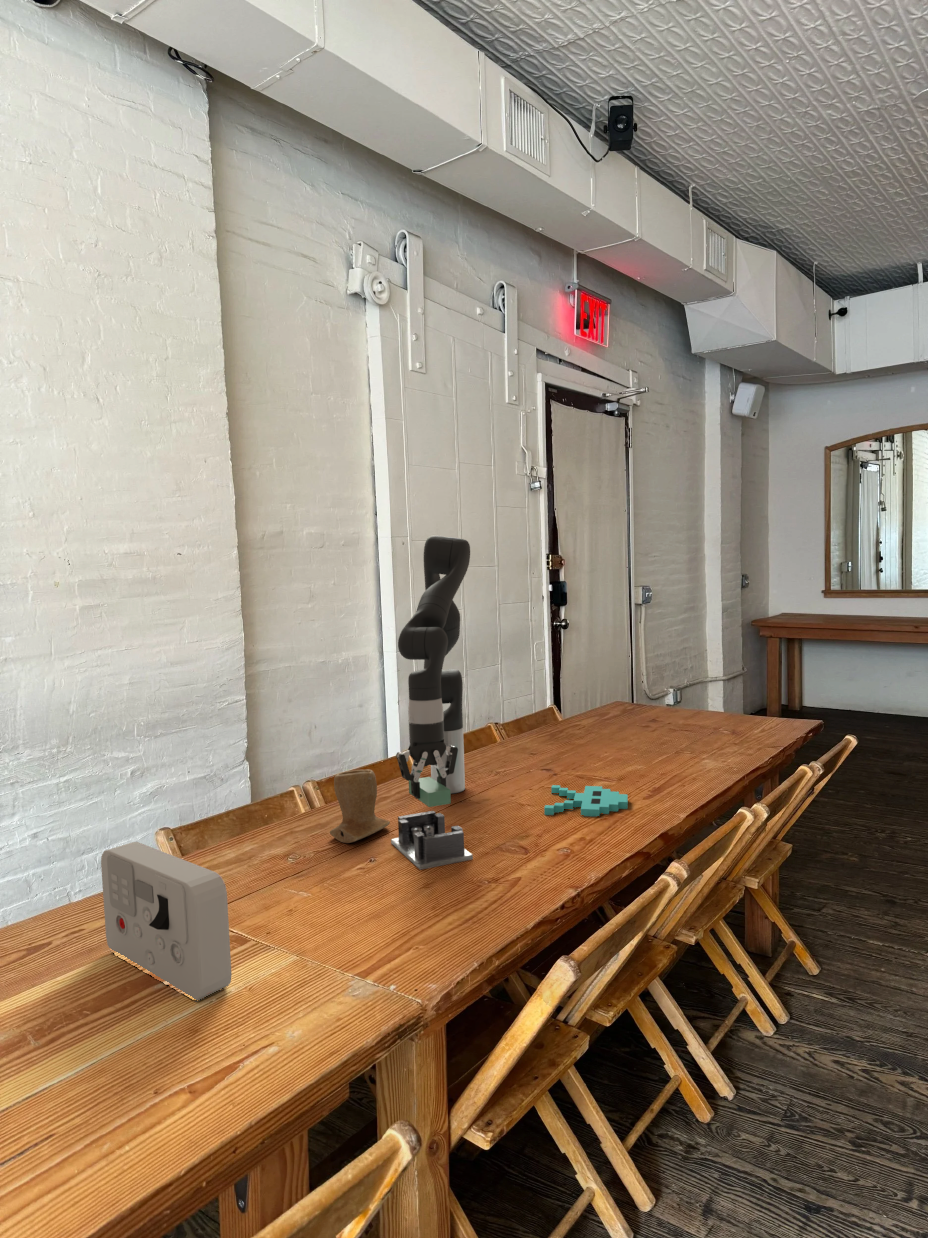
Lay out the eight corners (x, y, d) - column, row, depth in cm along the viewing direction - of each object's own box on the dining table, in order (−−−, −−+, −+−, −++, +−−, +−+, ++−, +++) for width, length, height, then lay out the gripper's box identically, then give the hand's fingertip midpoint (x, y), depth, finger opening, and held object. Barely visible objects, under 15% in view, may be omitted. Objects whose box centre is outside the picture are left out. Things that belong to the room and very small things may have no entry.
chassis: (391, 843, 188) (390, 817, 188) (440, 834, 193) (439, 809, 193) (419, 869, 172) (418, 841, 171) (472, 859, 177) (471, 831, 176)
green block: (409, 793, 186) (408, 779, 186) (429, 789, 188) (429, 776, 188) (428, 807, 175) (428, 793, 175) (450, 803, 177) (450, 789, 177)
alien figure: (544, 816, 205) (627, 819, 201) (544, 808, 205) (627, 810, 201) (552, 793, 225) (627, 795, 221) (552, 785, 224) (627, 787, 220)
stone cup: (357, 821, 205) (354, 761, 204) (396, 828, 199) (394, 766, 198) (316, 840, 192) (313, 776, 191) (356, 848, 186) (353, 782, 185)
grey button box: (93, 957, 138) (85, 851, 137) (136, 940, 144) (129, 838, 143) (187, 1014, 120) (180, 892, 119) (233, 991, 126) (226, 875, 124)
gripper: (449, 712, 187) (452, 787, 188) (388, 719, 181) (392, 796, 182) (463, 718, 180) (466, 795, 181) (400, 725, 174) (403, 805, 175)
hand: (428, 795), depth 181 cm, fingers closed on green block, 5 cm apart
